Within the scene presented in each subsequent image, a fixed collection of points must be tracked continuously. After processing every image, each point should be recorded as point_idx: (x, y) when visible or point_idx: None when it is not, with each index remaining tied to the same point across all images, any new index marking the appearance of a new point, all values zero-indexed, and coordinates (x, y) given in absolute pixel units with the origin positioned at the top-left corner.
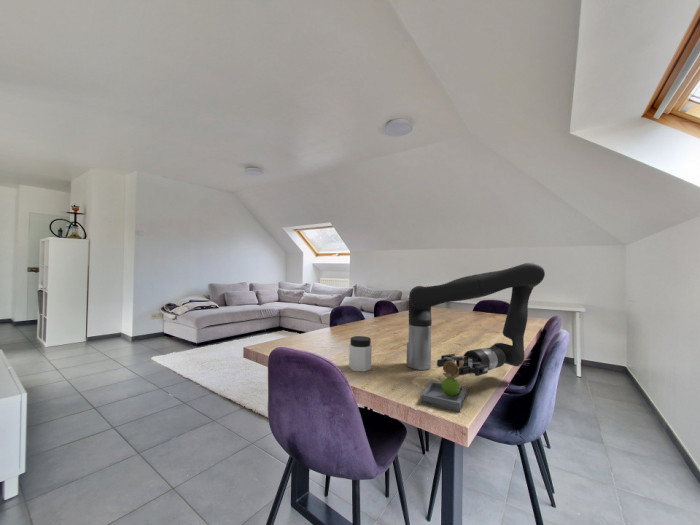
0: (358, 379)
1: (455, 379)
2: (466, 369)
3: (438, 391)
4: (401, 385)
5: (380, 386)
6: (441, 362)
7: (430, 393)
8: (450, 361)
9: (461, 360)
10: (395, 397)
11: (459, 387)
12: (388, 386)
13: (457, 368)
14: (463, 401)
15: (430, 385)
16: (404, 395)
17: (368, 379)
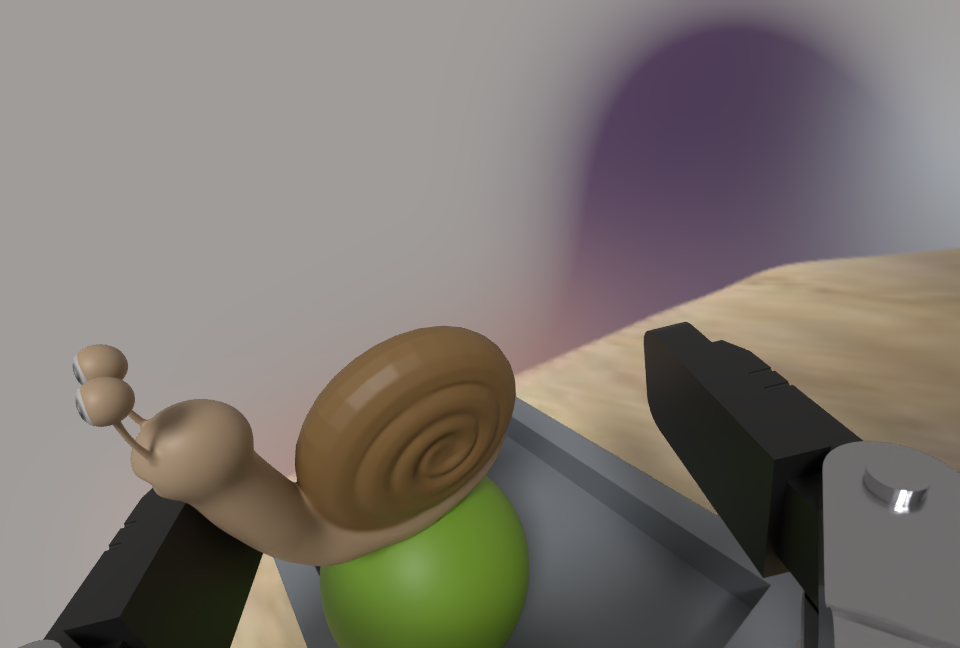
0: (904, 269)
1: (370, 554)
2: (120, 532)
3: (622, 600)
4: (850, 420)
5: (795, 327)
6: (677, 397)
7: (590, 506)
8: (387, 340)
9: (172, 409)
10: (620, 357)
11: (322, 603)
12: (804, 356)
13: (296, 464)
14: None
15: (662, 506)
16: (642, 393)
17: (927, 297)
